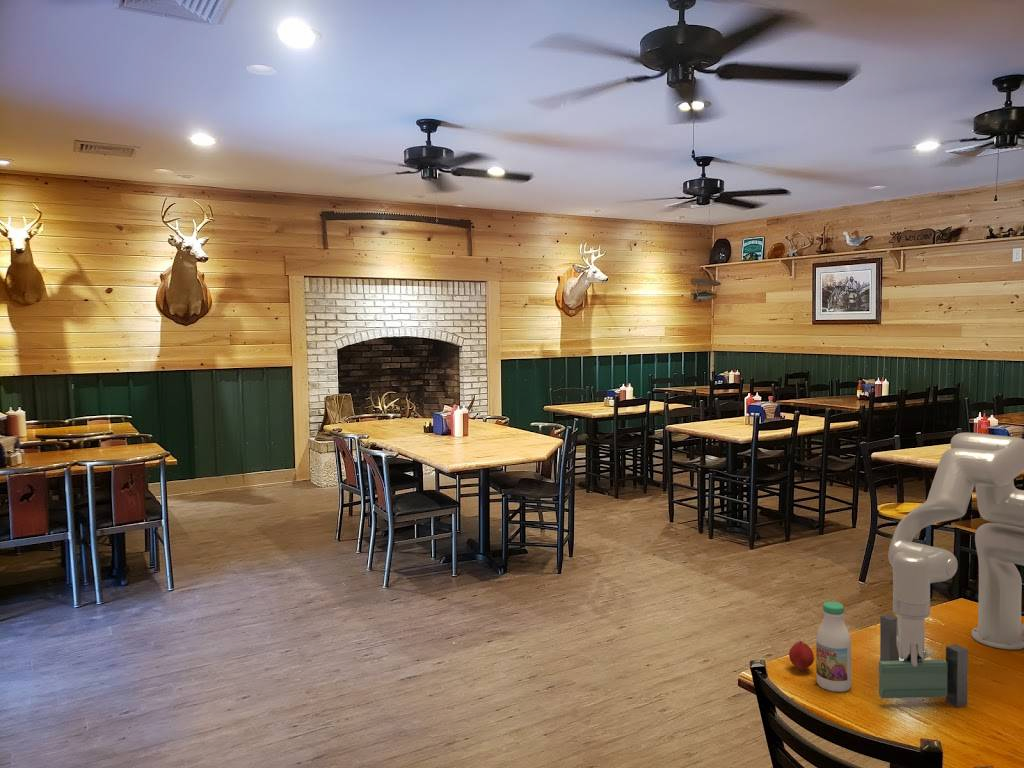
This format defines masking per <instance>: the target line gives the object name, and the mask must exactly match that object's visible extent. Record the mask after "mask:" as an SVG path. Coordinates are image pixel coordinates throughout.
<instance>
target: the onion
mask: <svg viewBox="0 0 1024 768" xmlns="http://www.w3.org/2000/svg"><path fill="white" fill-rule="evenodd" d="M804 641H805V640H803V639H799V641H798V642H795V643H794V644H793V645H792V646H791V647H790V649H789V652H788V657H789V661H790V663H791V664H792V665H793V666H794V667H796V668H797V669H798V670H799V671H802V672H803V671H805V670H806V669H808V668H809V667H811V666H812V665H813V663H814V660H815V657H814V656H815V655H814V652H813V650H812V648H811V646H809V645H808V644H807V643H805V642H804Z"/></svg>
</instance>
